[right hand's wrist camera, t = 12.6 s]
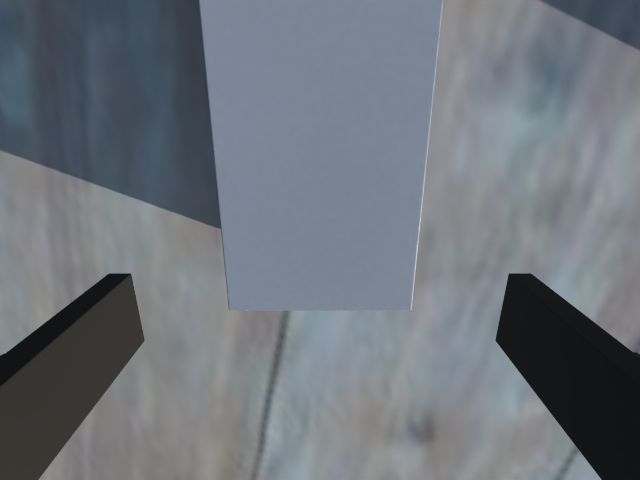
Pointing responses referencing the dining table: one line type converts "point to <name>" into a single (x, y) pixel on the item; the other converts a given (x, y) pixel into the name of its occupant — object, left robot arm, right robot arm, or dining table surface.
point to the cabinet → (320, 147)
